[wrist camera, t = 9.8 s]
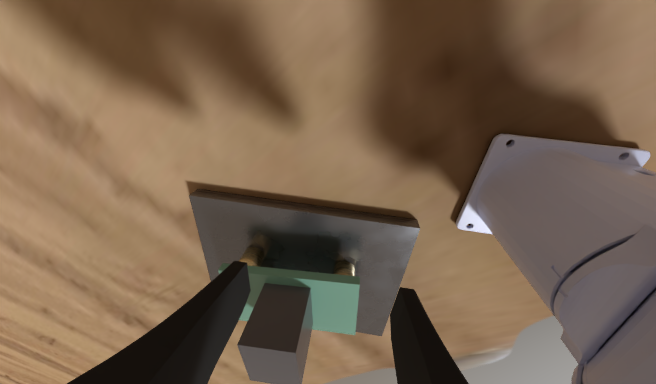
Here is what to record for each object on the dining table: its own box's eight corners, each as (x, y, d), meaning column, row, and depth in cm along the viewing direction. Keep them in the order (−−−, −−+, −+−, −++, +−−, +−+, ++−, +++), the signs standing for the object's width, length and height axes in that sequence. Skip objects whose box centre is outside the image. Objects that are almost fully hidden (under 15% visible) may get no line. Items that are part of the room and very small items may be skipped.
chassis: (417, 219, 20) (427, 250, 17) (380, 326, 28) (383, 360, 25) (197, 188, 21) (168, 211, 18) (222, 298, 29) (205, 327, 26)
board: (359, 276, 19) (358, 353, 14) (355, 326, 23) (353, 402, 18) (222, 263, 20) (177, 328, 15) (238, 311, 24) (205, 378, 19)
